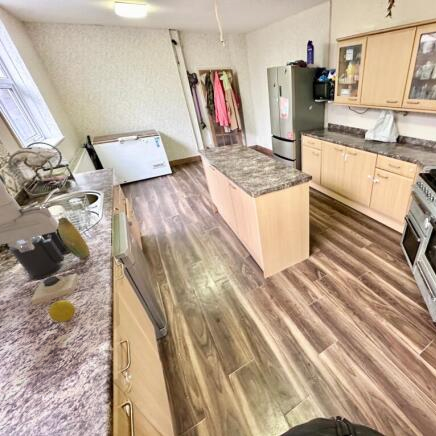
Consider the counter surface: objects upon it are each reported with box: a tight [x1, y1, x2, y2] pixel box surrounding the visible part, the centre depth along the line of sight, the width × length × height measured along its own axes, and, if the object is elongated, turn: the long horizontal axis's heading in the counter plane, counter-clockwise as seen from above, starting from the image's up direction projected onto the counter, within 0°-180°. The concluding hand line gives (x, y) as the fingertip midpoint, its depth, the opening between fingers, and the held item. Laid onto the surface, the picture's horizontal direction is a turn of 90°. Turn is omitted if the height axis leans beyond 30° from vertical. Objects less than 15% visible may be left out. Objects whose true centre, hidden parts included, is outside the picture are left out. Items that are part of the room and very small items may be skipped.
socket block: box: [30, 272, 80, 306], centre depth 85 cm, size 11×9×4 cm
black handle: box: [41, 229, 72, 256], centre depth 105 cm, size 12×9×12 cm
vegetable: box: [58, 216, 90, 259], centre depth 98 cm, size 6×6×20 cm
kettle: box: [8, 236, 65, 282], centre depth 92 cm, size 12×10×16 cm
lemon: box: [48, 299, 76, 323], centre depth 72 cm, size 6×6×8 cm
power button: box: [42, 275, 59, 287], centre depth 84 cm, size 4×4×2 cm
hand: (28, 250), depth 77 cm, fingers closed
